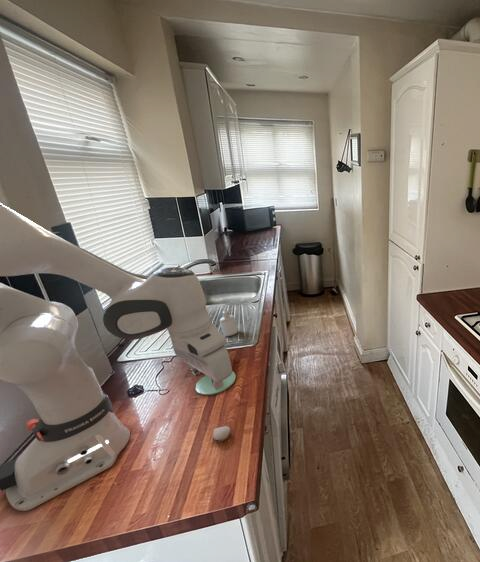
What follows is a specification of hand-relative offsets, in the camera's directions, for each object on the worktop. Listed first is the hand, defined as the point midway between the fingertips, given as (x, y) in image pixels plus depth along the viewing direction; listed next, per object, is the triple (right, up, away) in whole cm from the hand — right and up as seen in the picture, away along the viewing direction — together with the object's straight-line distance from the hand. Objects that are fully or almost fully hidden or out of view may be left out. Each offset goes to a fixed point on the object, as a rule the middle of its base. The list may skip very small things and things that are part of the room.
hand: (207, 380), depth 77 cm
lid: (-10, -8, +24) cm, 27 cm away
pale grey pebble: (+1, -17, +5) cm, 17 cm away
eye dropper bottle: (-19, +3, +53) cm, 57 cm away
